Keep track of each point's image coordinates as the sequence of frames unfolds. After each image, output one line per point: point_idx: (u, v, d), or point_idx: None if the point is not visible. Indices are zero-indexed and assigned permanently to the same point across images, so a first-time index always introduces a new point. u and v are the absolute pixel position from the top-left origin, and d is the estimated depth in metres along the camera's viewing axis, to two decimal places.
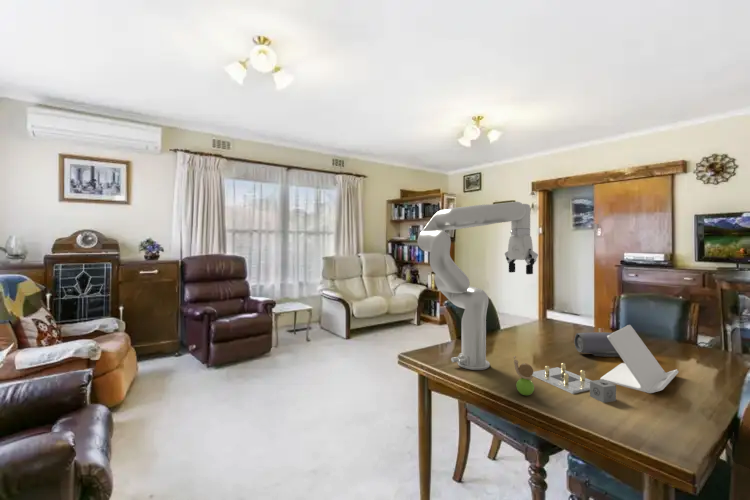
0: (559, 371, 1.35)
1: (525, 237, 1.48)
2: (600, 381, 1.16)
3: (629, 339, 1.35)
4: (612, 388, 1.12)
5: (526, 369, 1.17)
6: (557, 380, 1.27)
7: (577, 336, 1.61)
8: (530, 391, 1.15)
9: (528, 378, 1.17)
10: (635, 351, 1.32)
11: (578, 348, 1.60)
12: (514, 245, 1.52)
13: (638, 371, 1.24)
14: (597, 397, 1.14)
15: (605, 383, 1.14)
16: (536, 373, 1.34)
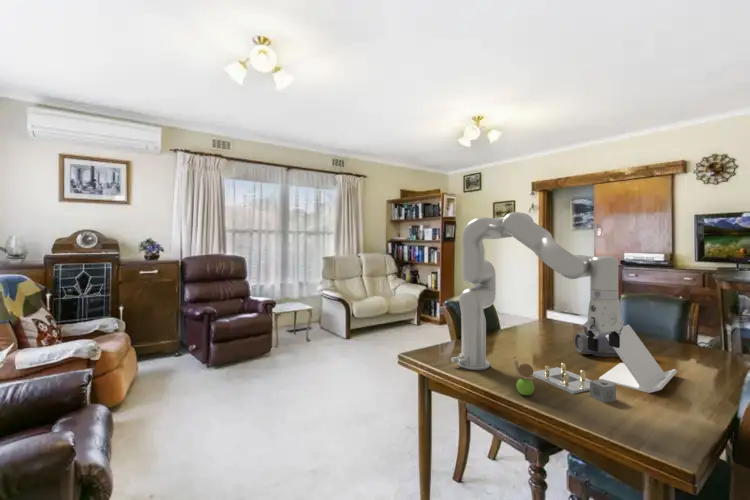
0: (559, 371, 1.35)
1: None
2: (600, 381, 1.16)
3: (628, 339, 1.35)
4: (612, 388, 1.12)
5: (526, 369, 1.17)
6: (557, 380, 1.27)
7: (577, 336, 1.61)
8: (530, 391, 1.15)
9: (528, 378, 1.17)
10: (634, 350, 1.32)
11: (578, 348, 1.60)
12: (611, 313, 1.11)
13: (637, 370, 1.24)
14: (597, 397, 1.14)
15: (605, 383, 1.14)
16: (536, 373, 1.34)
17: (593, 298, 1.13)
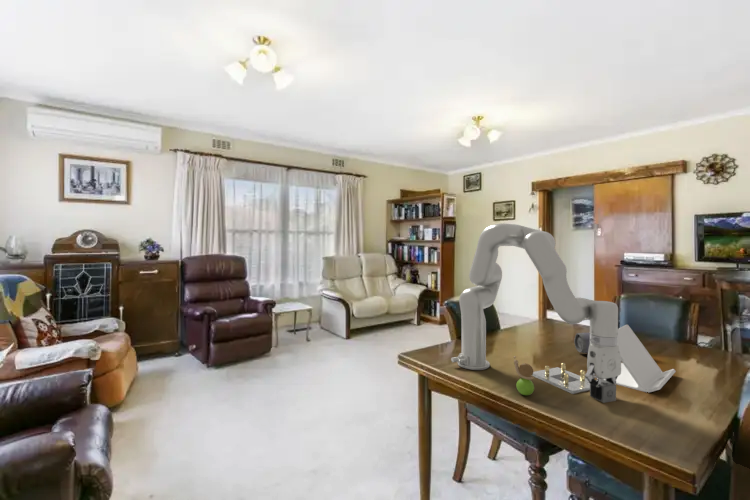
0: (559, 371, 1.35)
1: None
2: None
3: (627, 339, 1.35)
4: (612, 388, 1.12)
5: (526, 369, 1.17)
6: (557, 380, 1.27)
7: (577, 336, 1.61)
8: (530, 391, 1.15)
9: (528, 378, 1.17)
10: (633, 350, 1.32)
11: (578, 348, 1.60)
12: (610, 359, 1.12)
13: (636, 370, 1.25)
14: None
15: (605, 383, 1.14)
16: (536, 373, 1.34)
17: (592, 343, 1.14)
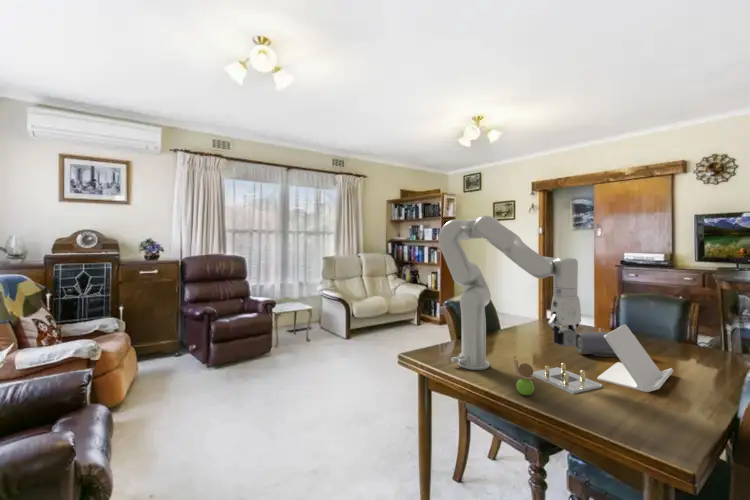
0: (559, 371, 1.35)
1: None
2: (563, 329, 1.30)
3: (625, 338, 1.36)
4: (572, 334, 1.26)
5: (526, 369, 1.17)
6: (557, 380, 1.27)
7: (577, 336, 1.61)
8: (530, 391, 1.15)
9: (528, 378, 1.17)
10: (631, 350, 1.33)
11: (578, 348, 1.60)
12: (570, 308, 1.25)
13: (635, 370, 1.25)
14: None
15: (567, 330, 1.28)
16: (536, 373, 1.34)
17: (555, 295, 1.28)
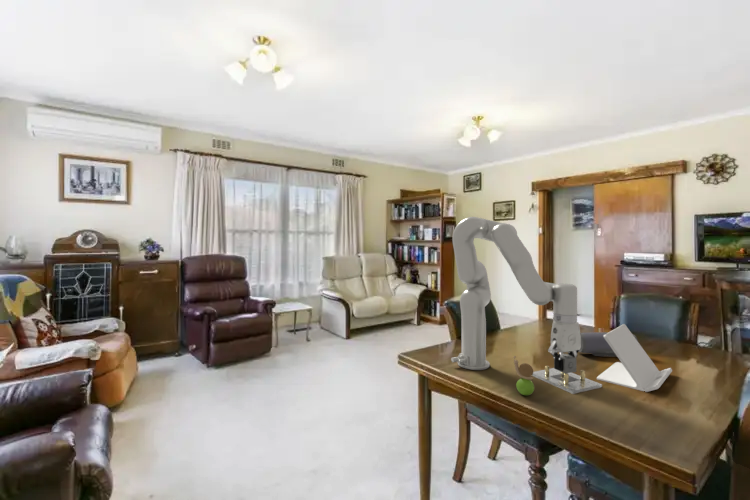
0: (559, 371, 1.35)
1: None
2: (563, 355, 1.30)
3: (624, 338, 1.36)
4: (573, 360, 1.27)
5: (526, 369, 1.17)
6: (557, 380, 1.27)
7: None
8: (530, 391, 1.15)
9: (528, 378, 1.17)
10: (630, 350, 1.33)
11: None
12: (570, 335, 1.26)
13: (634, 370, 1.25)
14: None
15: (567, 356, 1.29)
16: (536, 373, 1.34)
17: (555, 321, 1.28)
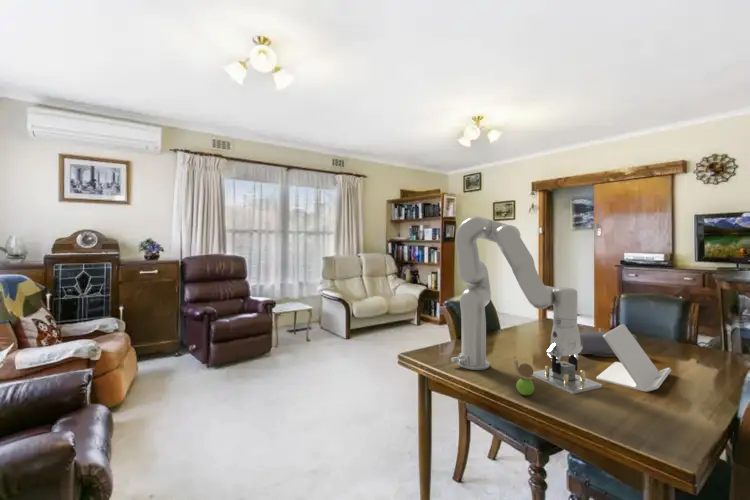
0: None
1: None
2: (562, 362, 1.30)
3: (623, 338, 1.36)
4: (572, 368, 1.27)
5: (526, 369, 1.17)
6: (557, 380, 1.27)
7: None
8: (530, 391, 1.15)
9: (528, 378, 1.17)
10: (630, 350, 1.33)
11: None
12: (570, 338, 1.26)
13: (634, 369, 1.25)
14: (559, 376, 1.28)
15: (566, 364, 1.29)
16: (536, 373, 1.34)
17: (555, 325, 1.28)
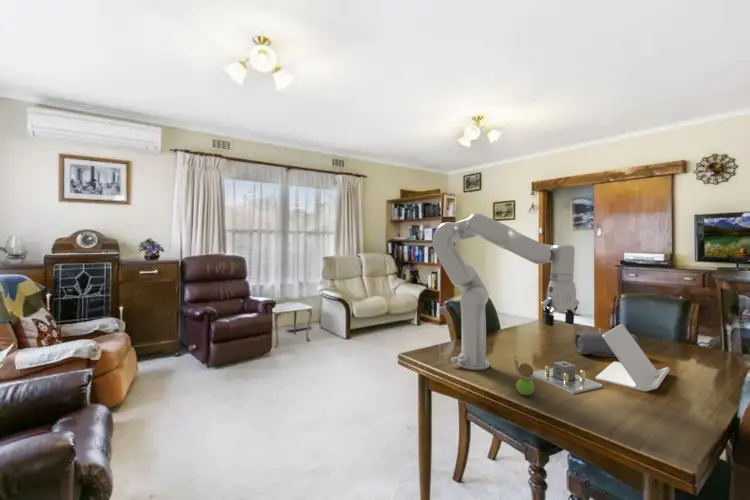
0: None
1: None
2: (562, 362, 1.30)
3: (622, 338, 1.36)
4: (572, 368, 1.27)
5: (526, 369, 1.17)
6: (557, 380, 1.27)
7: (577, 336, 1.61)
8: (530, 391, 1.15)
9: (528, 378, 1.17)
10: (629, 349, 1.34)
11: (578, 348, 1.60)
12: (566, 293, 1.29)
13: (633, 369, 1.25)
14: (559, 376, 1.28)
15: (566, 364, 1.29)
16: (536, 373, 1.34)
17: (552, 280, 1.31)
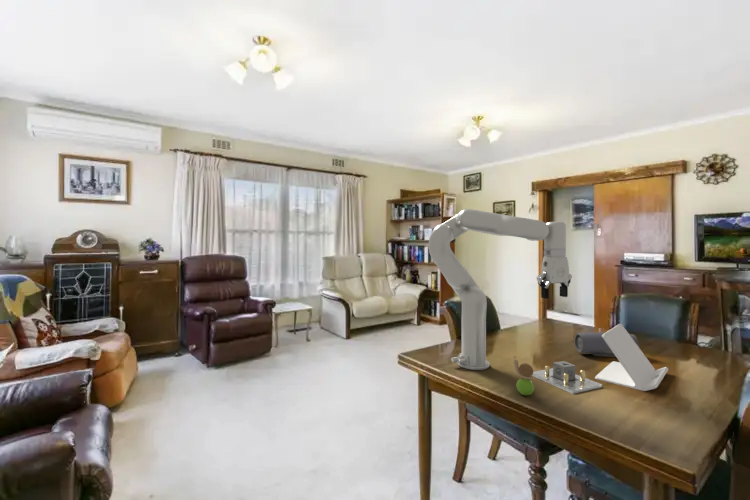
0: None
1: None
2: (562, 362, 1.30)
3: (621, 338, 1.37)
4: (572, 368, 1.27)
5: (526, 369, 1.17)
6: (557, 380, 1.27)
7: (577, 336, 1.61)
8: (530, 391, 1.15)
9: (528, 378, 1.17)
10: (628, 349, 1.34)
11: (578, 348, 1.60)
12: (559, 267, 1.37)
13: (632, 369, 1.26)
14: (559, 376, 1.28)
15: (566, 364, 1.29)
16: (536, 373, 1.34)
17: (545, 256, 1.39)
